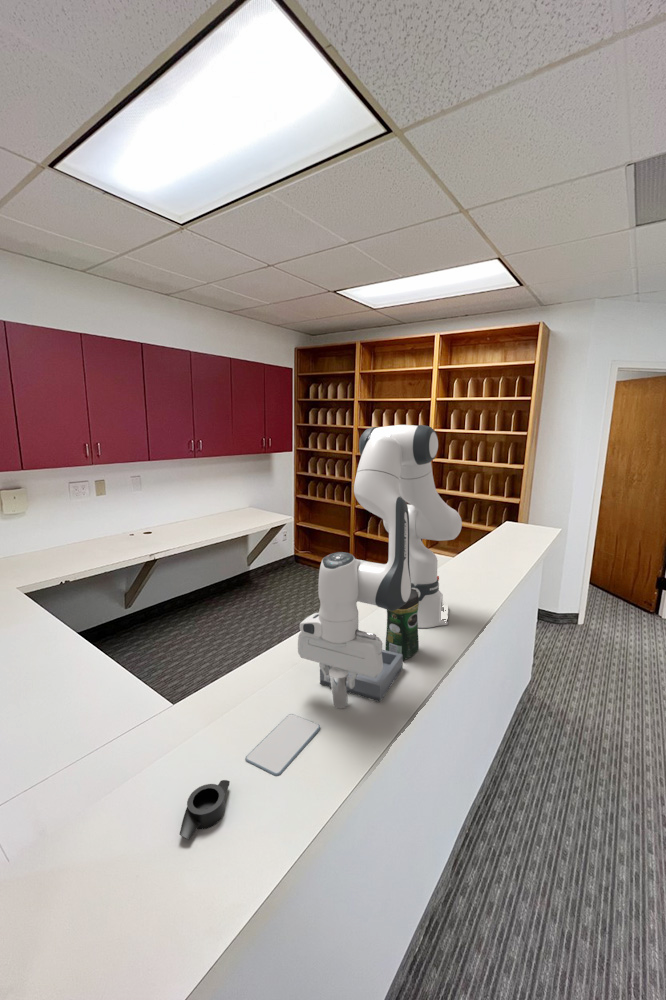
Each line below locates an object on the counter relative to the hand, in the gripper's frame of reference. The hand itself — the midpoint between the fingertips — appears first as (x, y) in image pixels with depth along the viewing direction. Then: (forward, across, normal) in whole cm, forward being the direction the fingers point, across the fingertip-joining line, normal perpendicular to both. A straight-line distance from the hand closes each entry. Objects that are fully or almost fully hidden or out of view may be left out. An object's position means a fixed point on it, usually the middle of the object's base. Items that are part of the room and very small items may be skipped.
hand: (339, 683), depth 94 cm
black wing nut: (+6, +6, +35) cm, 36 cm away
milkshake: (+5, 0, 0) cm, 5 cm away
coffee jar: (+5, -5, -29) cm, 30 cm away
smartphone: (+6, +4, +16) cm, 18 cm away
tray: (+5, 0, -13) cm, 14 cm away
